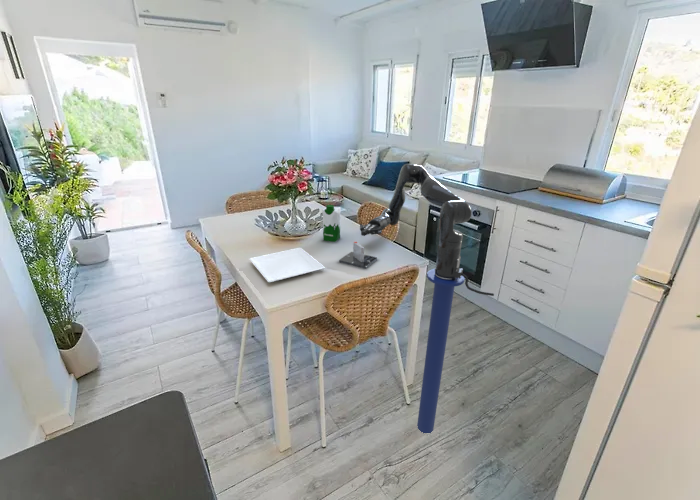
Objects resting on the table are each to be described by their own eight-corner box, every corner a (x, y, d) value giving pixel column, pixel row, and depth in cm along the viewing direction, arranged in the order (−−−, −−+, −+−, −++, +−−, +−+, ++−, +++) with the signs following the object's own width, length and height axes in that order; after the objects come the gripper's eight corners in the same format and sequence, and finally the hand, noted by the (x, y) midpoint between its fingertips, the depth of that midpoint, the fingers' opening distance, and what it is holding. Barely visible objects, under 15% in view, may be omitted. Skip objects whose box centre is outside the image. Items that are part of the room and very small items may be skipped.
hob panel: (377, 260, 167) (377, 257, 166) (365, 269, 157) (365, 266, 156) (351, 254, 173) (351, 251, 172) (338, 263, 163) (338, 259, 162)
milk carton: (321, 241, 188) (320, 206, 180) (327, 236, 196) (327, 201, 188) (336, 244, 186) (336, 207, 178) (342, 238, 194) (342, 203, 186)
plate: (325, 271, 154) (325, 267, 153) (268, 286, 141) (268, 281, 140) (300, 250, 174) (300, 246, 173) (249, 262, 161) (248, 258, 160)
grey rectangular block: (363, 261, 161) (364, 247, 158) (360, 262, 161) (361, 247, 158) (356, 255, 168) (356, 241, 165) (353, 255, 167) (353, 241, 164)
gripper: (366, 215, 186) (351, 224, 172) (389, 219, 180) (375, 229, 166) (366, 229, 189) (350, 238, 175) (388, 233, 183) (374, 243, 169)
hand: (362, 233), depth 170 cm, fingers closed
